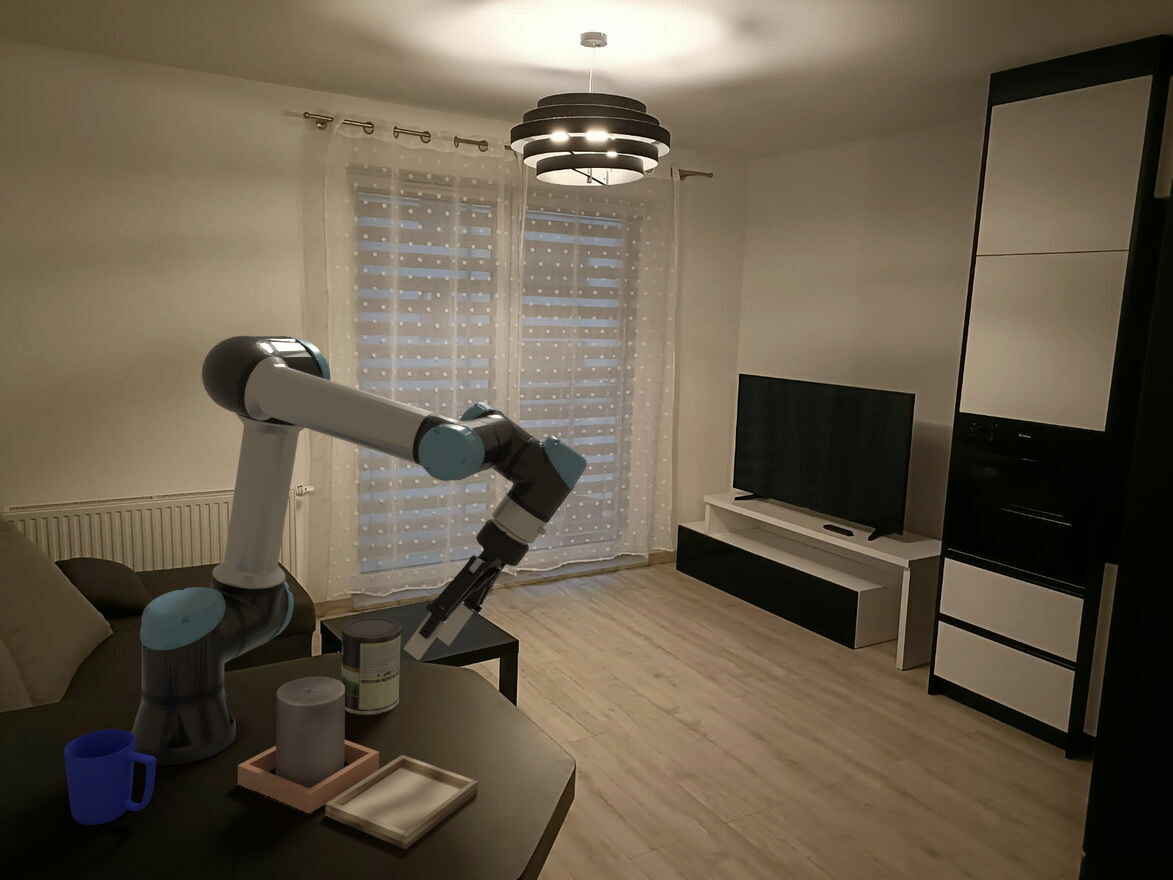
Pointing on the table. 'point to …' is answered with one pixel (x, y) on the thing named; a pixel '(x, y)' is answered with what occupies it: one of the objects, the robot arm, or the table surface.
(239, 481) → the robot arm
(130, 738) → the mug
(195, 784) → the table surface
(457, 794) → the tray
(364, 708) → the coffee can
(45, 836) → the table surface
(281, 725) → the pillar candle
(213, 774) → the table surface
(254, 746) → the table surface
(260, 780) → the holder
